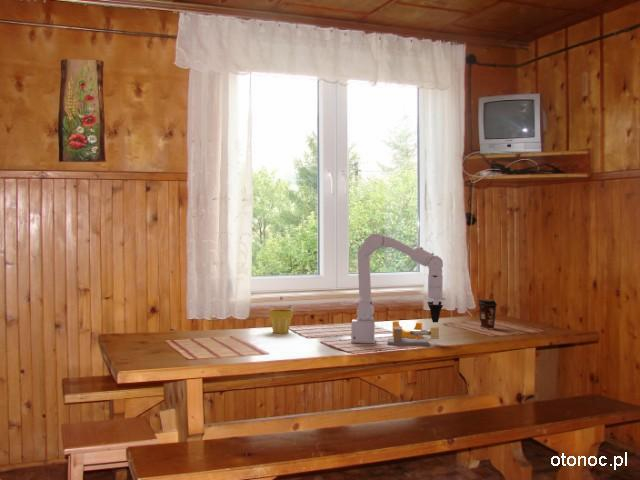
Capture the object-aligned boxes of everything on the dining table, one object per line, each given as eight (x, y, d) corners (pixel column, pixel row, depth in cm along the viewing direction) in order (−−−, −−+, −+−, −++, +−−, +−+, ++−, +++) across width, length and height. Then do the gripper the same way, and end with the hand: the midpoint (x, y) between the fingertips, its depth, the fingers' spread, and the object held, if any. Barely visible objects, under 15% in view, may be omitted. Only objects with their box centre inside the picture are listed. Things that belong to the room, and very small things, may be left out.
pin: (410, 338, 270) (410, 327, 270) (410, 337, 273) (410, 326, 273) (438, 339, 269) (438, 328, 268) (438, 337, 272) (438, 326, 271)
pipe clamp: (422, 337, 289) (422, 321, 288) (420, 338, 284) (420, 323, 284) (395, 335, 293) (395, 320, 293) (392, 336, 289) (392, 321, 289)
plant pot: (294, 330, 303) (294, 308, 303) (291, 334, 293) (291, 311, 292) (271, 330, 304) (271, 308, 304) (267, 333, 294) (267, 311, 293)
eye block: (387, 344, 269) (387, 329, 269) (388, 341, 277) (388, 326, 276) (428, 345, 267) (428, 330, 267) (427, 342, 275) (428, 327, 274)
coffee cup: (473, 327, 315) (473, 299, 315) (488, 326, 318) (488, 298, 318) (485, 330, 307) (486, 301, 307) (500, 329, 311) (500, 300, 310)
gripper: (446, 288, 262) (446, 323, 262) (444, 285, 276) (444, 318, 277) (427, 288, 263) (427, 323, 263) (426, 284, 277) (426, 318, 278)
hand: (434, 320), depth 270 cm, fingers open, 7 cm apart
